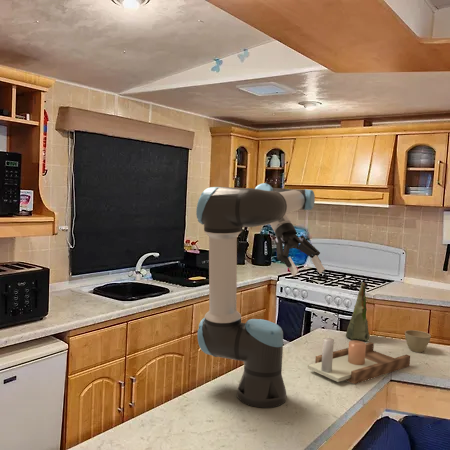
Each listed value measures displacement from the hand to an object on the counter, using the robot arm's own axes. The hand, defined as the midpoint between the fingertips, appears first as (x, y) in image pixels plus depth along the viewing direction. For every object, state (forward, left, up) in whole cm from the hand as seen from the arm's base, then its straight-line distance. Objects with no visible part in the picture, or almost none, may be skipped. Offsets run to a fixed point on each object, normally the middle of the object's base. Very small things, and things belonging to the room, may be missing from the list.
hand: (309, 272), depth 173 cm
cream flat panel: (+15, +1, -33) cm, 36 cm away
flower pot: (+38, +39, -35) cm, 65 cm away
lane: (+20, +9, -35) cm, 41 cm away
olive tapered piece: (+14, +43, -35) cm, 57 cm away
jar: (+18, +6, -32) cm, 37 cm away
